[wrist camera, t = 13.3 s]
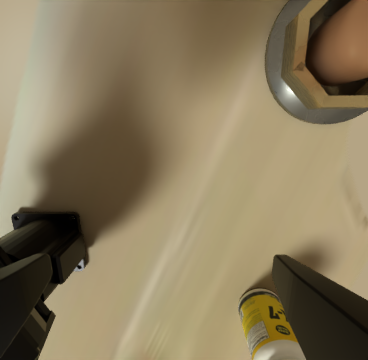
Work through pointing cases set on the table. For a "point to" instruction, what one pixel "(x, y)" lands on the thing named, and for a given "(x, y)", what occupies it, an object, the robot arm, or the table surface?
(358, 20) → the vase
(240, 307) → the supplement bottle
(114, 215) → the table surface
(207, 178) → the table surface
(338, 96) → the holder
